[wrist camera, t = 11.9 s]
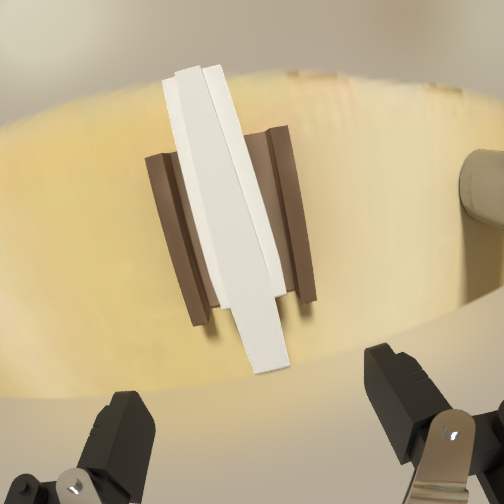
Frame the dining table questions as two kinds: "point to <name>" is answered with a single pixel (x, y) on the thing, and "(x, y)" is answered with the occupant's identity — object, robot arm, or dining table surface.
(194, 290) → the walnut channel
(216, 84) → the shelf bracket
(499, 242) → the dining table surface
